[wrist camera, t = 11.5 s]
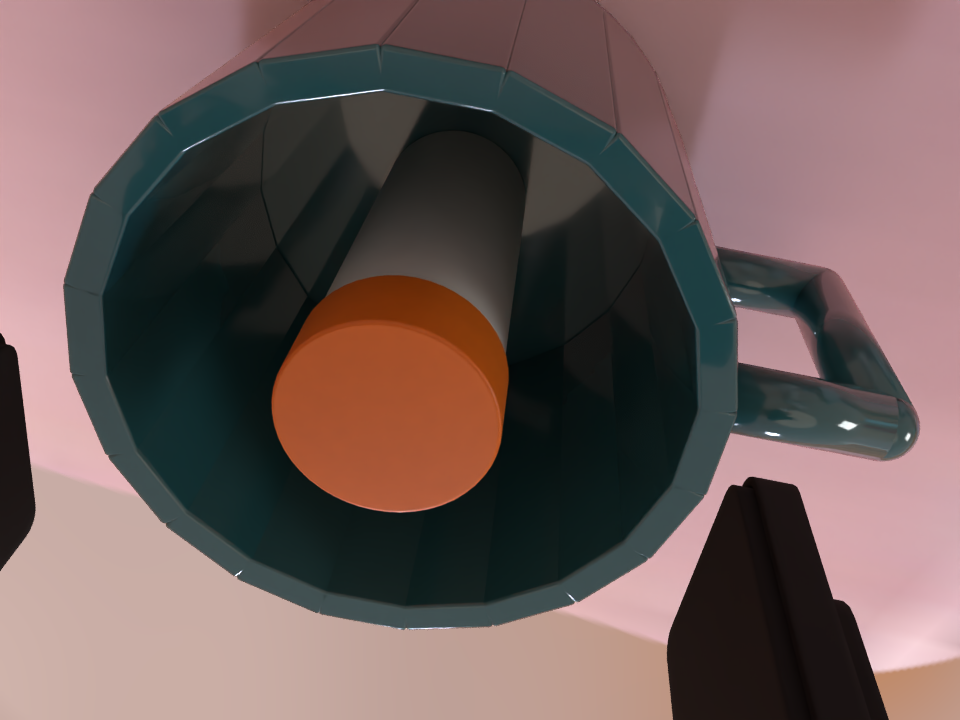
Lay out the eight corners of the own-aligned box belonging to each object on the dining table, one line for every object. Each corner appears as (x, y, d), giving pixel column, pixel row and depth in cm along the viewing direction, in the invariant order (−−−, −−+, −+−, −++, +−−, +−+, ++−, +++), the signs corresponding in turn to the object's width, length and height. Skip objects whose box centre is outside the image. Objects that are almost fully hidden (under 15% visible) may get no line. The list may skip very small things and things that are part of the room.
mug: (240, 329, 24) (85, 571, 17) (256, -92, 19) (36, -23, 11) (751, 428, 24) (831, 712, 17) (908, 36, 19) (1130, 190, 11)
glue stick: (391, 112, 20) (276, 300, 12) (543, 141, 20) (522, 346, 12) (375, 250, 22) (264, 491, 14) (514, 278, 22) (480, 532, 14)
